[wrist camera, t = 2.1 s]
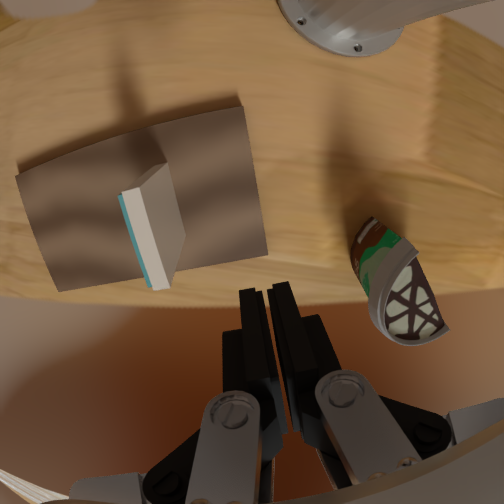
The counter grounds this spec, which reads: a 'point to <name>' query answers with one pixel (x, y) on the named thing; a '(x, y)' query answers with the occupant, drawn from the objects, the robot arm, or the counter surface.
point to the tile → (154, 225)
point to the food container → (395, 286)
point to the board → (129, 170)
